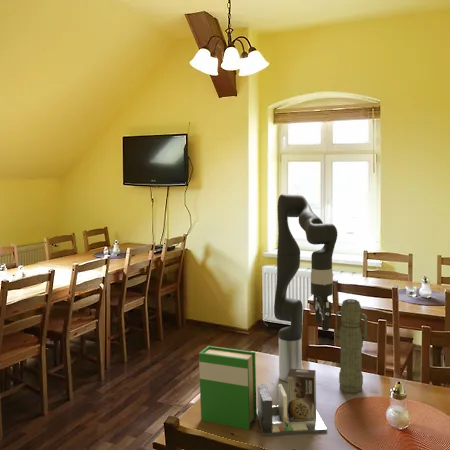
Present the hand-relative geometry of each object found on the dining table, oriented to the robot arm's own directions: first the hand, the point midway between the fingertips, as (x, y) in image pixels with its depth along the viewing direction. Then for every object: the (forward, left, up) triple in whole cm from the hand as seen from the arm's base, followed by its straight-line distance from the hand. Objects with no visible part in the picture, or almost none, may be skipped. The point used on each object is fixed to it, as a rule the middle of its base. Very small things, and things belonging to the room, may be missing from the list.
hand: (322, 326), depth 169 cm
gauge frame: (+8, -14, -30) cm, 34 cm away
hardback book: (+4, -34, -30) cm, 46 cm away
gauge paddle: (+10, -16, -29) cm, 34 cm away
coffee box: (+8, -9, -29) cm, 32 cm away
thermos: (-13, +15, -30) cm, 36 cm away
